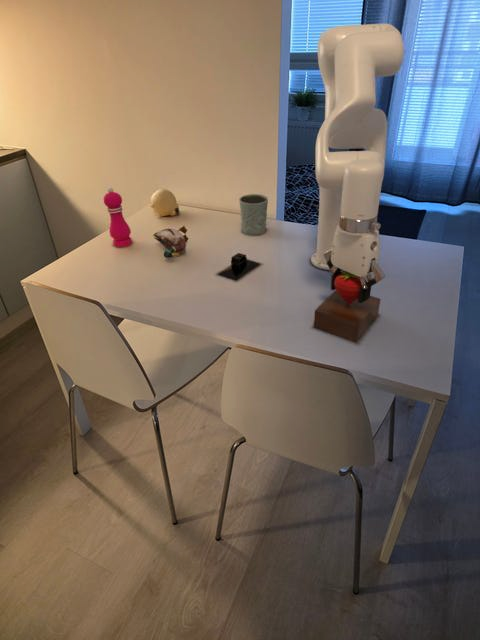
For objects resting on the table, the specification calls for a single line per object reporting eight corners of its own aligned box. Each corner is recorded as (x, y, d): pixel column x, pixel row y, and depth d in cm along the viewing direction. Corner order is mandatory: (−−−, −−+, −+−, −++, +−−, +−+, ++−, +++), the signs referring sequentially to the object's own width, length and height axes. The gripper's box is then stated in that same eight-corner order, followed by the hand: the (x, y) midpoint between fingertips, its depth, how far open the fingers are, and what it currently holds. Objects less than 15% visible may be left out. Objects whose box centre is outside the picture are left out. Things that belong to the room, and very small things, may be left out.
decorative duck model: (174, 248, 127) (133, 241, 132) (177, 268, 132) (138, 261, 137) (195, 225, 137) (156, 220, 142) (198, 245, 142) (160, 239, 147)
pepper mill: (137, 241, 149) (125, 186, 137) (122, 249, 144) (109, 192, 132) (123, 238, 152) (110, 183, 141) (108, 245, 147) (94, 189, 136)
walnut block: (337, 303, 108) (338, 286, 105) (377, 315, 103) (380, 298, 100) (313, 327, 100) (314, 310, 97) (356, 342, 94) (358, 324, 91)
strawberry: (360, 313, 95) (365, 275, 89) (329, 306, 98) (332, 268, 92) (367, 300, 99) (372, 263, 93) (336, 294, 102) (340, 257, 96)
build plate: (236, 281, 121) (235, 267, 118) (217, 274, 125) (215, 261, 122) (260, 264, 129) (259, 250, 126) (241, 258, 133) (241, 245, 130)
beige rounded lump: (169, 227, 168) (186, 207, 165) (145, 208, 161) (163, 188, 159) (166, 218, 176) (183, 199, 173) (144, 200, 169) (160, 180, 166)
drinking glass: (242, 225, 156) (241, 194, 149) (269, 225, 155) (269, 193, 148) (239, 236, 148) (237, 203, 141) (267, 236, 146) (266, 203, 140)
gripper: (404, 228, 83) (390, 302, 93) (337, 208, 94) (331, 276, 104) (381, 239, 79) (370, 315, 89) (314, 216, 91) (311, 286, 101)
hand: (349, 293), depth 97 cm, fingers closed on strawberry, 7 cm apart
